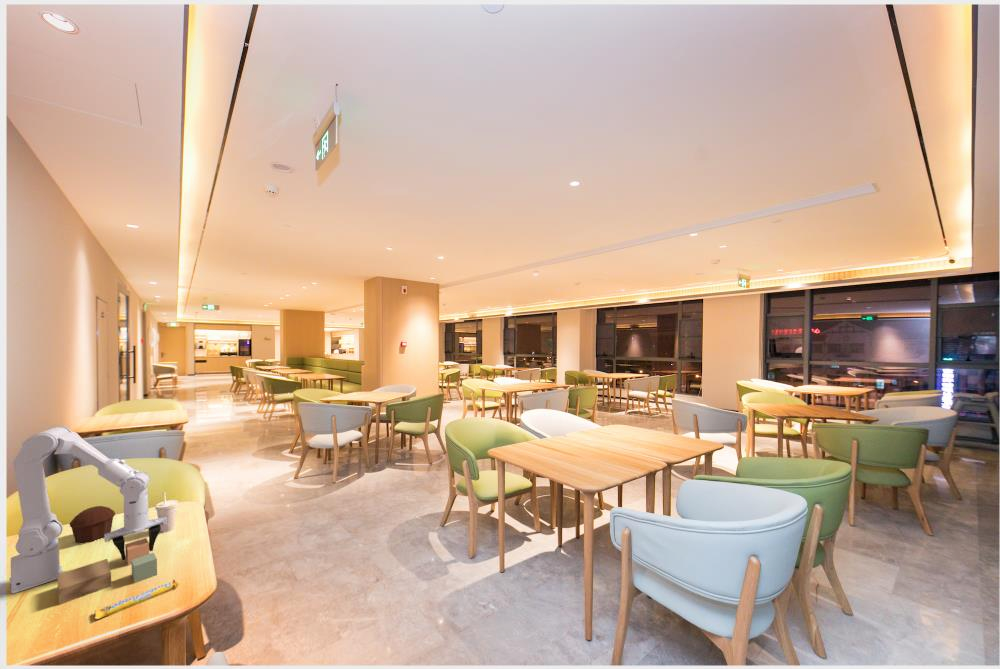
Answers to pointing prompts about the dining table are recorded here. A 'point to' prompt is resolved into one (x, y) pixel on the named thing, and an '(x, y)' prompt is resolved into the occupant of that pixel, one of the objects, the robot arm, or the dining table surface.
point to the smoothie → (167, 513)
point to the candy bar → (135, 600)
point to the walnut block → (83, 581)
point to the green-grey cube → (144, 567)
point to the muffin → (92, 524)
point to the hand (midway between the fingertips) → (137, 554)
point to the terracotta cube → (136, 550)
